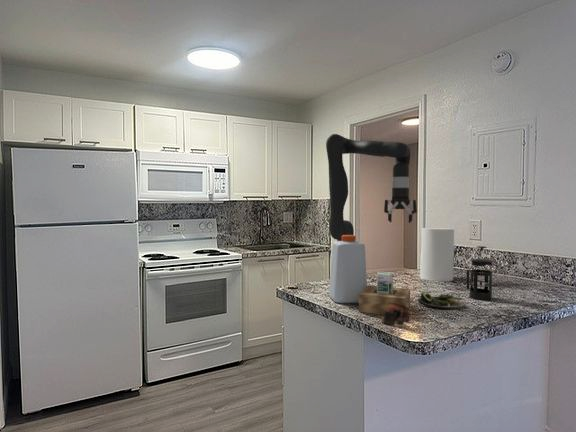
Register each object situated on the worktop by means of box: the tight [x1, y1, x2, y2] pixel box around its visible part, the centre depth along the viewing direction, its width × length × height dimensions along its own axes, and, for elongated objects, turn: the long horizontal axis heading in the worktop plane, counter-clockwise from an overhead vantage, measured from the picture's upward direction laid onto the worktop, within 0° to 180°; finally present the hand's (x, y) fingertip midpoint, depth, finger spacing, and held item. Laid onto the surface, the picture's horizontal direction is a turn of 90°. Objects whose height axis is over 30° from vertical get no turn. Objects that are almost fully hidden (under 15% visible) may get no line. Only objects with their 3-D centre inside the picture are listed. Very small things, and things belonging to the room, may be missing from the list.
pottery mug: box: [381, 302, 410, 326], centre depth 141 cm, size 12×10×8 cm
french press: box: [466, 245, 494, 301], centre depth 179 cm, size 12×9×23 cm
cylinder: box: [419, 227, 455, 282], centre depth 223 cm, size 17×17×28 cm
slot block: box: [358, 284, 411, 316], centre depth 160 cm, size 17×17×7 cm
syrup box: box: [376, 271, 394, 295], centre depth 160 cm, size 6×6×14 cm
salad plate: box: [416, 291, 466, 310], centre depth 169 cm, size 19×18×5 cm
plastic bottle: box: [328, 234, 368, 304], centre depth 175 cm, size 15×15×28 cm
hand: (400, 222), depth 185 cm, fingers open, 8 cm apart
